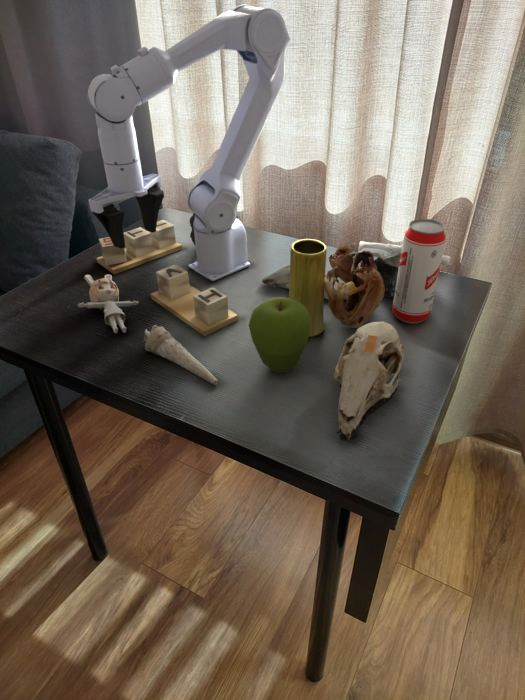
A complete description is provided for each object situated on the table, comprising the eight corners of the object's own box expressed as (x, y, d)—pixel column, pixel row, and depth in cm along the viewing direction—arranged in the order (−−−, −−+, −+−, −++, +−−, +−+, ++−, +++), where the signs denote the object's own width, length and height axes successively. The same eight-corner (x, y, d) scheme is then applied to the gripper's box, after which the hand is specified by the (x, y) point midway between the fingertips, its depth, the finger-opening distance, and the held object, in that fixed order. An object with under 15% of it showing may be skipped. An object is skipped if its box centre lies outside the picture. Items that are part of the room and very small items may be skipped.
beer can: (432, 310, 89) (451, 221, 79) (425, 329, 84) (444, 237, 75) (396, 302, 91) (410, 214, 82) (387, 320, 87) (401, 230, 77)
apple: (297, 345, 82) (299, 280, 75) (318, 378, 75) (322, 310, 68) (243, 356, 79) (240, 291, 73) (261, 391, 73) (259, 323, 66)
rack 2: (151, 298, 94) (146, 273, 91) (183, 285, 97) (180, 260, 94) (204, 336, 84) (201, 309, 81) (238, 319, 88) (236, 293, 85)
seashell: (153, 318, 82) (225, 333, 73) (158, 359, 85) (229, 378, 76) (132, 326, 79) (204, 343, 70) (138, 368, 82) (209, 389, 73)
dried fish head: (396, 329, 77) (372, 266, 74) (341, 348, 80) (315, 287, 77) (393, 285, 96) (373, 233, 92) (348, 301, 99) (327, 251, 95)
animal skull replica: (309, 433, 66) (313, 372, 60) (352, 358, 78) (358, 301, 72) (372, 454, 63) (382, 392, 57) (406, 373, 75) (418, 315, 69)
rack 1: (164, 238, 114) (161, 216, 110) (182, 249, 109) (180, 226, 106) (97, 262, 105) (91, 238, 102) (114, 274, 101) (109, 250, 98)
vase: (304, 312, 89) (306, 234, 80) (332, 326, 85) (338, 246, 77) (279, 327, 85) (279, 246, 77) (307, 342, 82) (310, 260, 73)
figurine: (358, 249, 99) (456, 263, 96) (361, 229, 99) (459, 243, 96) (356, 262, 106) (448, 275, 102) (360, 243, 106) (451, 256, 103)
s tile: (102, 257, 104) (98, 238, 102) (122, 253, 106) (119, 234, 103) (106, 265, 102) (102, 246, 99) (126, 261, 103) (123, 242, 100)
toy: (89, 322, 80) (68, 264, 89) (85, 347, 83) (65, 289, 92) (153, 318, 85) (127, 264, 94) (148, 342, 89) (123, 287, 97)
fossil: (328, 298, 86) (262, 261, 93) (322, 321, 89) (258, 283, 96) (365, 280, 93) (301, 247, 101) (358, 302, 96) (296, 268, 103)
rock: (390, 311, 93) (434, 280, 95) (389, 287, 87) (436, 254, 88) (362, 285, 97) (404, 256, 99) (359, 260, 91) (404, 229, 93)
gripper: (104, 177, 77) (120, 260, 85) (171, 151, 87) (180, 228, 95) (72, 169, 80) (91, 249, 88) (140, 145, 90) (151, 220, 98)
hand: (135, 238), depth 92 cm, fingers open, 7 cm apart
